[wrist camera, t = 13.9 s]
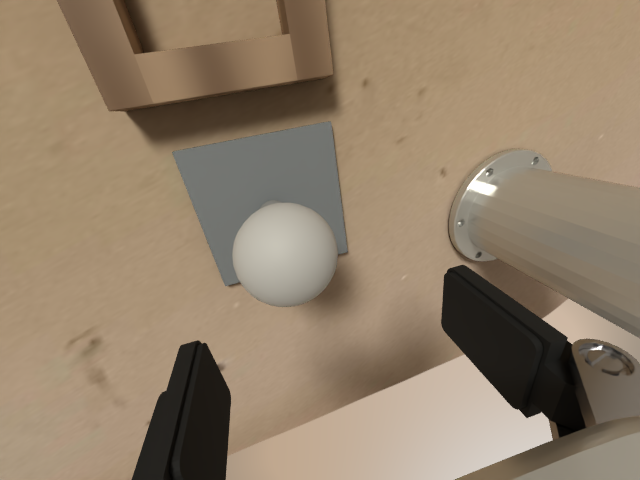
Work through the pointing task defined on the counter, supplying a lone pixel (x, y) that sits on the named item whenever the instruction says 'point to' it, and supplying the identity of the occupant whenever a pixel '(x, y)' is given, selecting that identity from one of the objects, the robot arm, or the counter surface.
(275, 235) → the lightbulb
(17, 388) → the counter surface
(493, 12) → the counter surface
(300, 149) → the rubber mat
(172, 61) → the socket block
